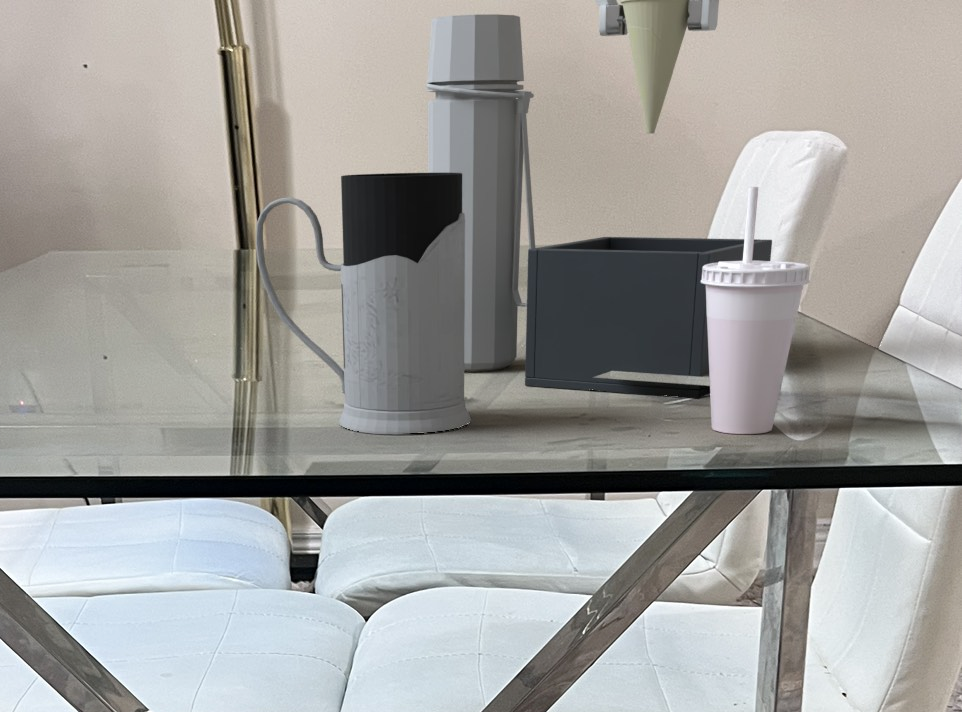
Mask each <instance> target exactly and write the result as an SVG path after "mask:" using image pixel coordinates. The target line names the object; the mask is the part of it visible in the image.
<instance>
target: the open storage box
mask: <svg viewBox="0 0 962 712" xmlns="http://www.w3.org/2000/svg"><path fill="white" fill-rule="evenodd" d="M744 239H745V238H702V237H701V238H700V237H699V238H697V237H696V238H695V237H694V238H693V237H689V238H688V237H643V236H642V237H641V236H639V237H635V236H602V237H595V238H589V239H588V238H587V239H583V240H575V241H570V242H565V243H557V244H551V245H545V246H539V247H535V248H532V249H529V248H528V250H527V280H526V281H527V285H526V286H527V287H526V301H527V306H526V325H525V327H526V328H525V330H526V331H525V362H524V363H525V367H524V368H525V370H524V371H525V372H524V386H526V387H539V388H551V389H563V390H577V391H590V390H592V389H593V390H600V391H599V392H603V391H606V392H605V393H619V394H630V395H644V396H656V395H657V396H658V397H665V396H664V395H667V396H666V397H669V396H678V397H677V398H683V397H687V398H686V399H697V400H698V399H701V398H703V397H705V396H708V395H710V385H705V384H693V383H677V382H676V383H675V382H664V381H651V380H650V381H648V380H637V379H636V380H634V379H620V378H619V379H618V378H607V377H598V376H602V375H604V374H607V373H609V372H625V373H637V374H650V375H651V374H653V375H667V376H668V375H669V376H680V377H681V376H682V377H697V378H701V377H703V376H706V375H709V353H708V330H707V310H706V284H703V283H701V280H702V267H703V266H704V265H706V264H711V263H719V261H743V251H744ZM772 246H773V240H772V239H759V238H758V239H755V238H754V245H753V257H752V261H772V260H771V259H772V248H773V247H772ZM586 389H587V390H586ZM589 389H590V390H589ZM662 395H663V396H662Z"/></svg>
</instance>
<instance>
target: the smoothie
mask: <svg viewBox="0 0 962 712" xmlns="http://www.w3.org/2000/svg"><path fill="white" fill-rule="evenodd" d="M758 195H759V186H748V192H747V205H746V216H745V229H744V238H743V239H744V251H743V261H719V263H711V264H706V265H704V266H703V267H702V280H701V283H703V284H706V310H707V330H708V353H709V374H708V375H709V386H710V394H709V396H710V397H709V399H710V419H711V421H710V422H711V429H712V430H713V431H716V432H719V433H725V434H733V435H755V434H756V435H757V434H765V433H768V432H772V431H773V426H774V422H775V416H776V413H777V408H778V403H779V400H780V395H781V390H782V385H783V381H784V377H785V372H786V367H787V362H788V358H789V355H790V354H789V353H790V349H791V345H792V339H793V335H794V330H795V327H796V326H795V325H796V321H797V317H798V312H799V308H800V303H801V298H802V294H803V289H804V285H808V284H809V283H810V282H811V281H810V271H811V270H810V269H811V266H810V265H809V264H807V263H802V262H795V261H794V262H793V261H778V260H777V261H775V260H770V261H752V257H753V245H754V239H755V233H756V221H757V210H758V197H759V196H758Z"/></svg>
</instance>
